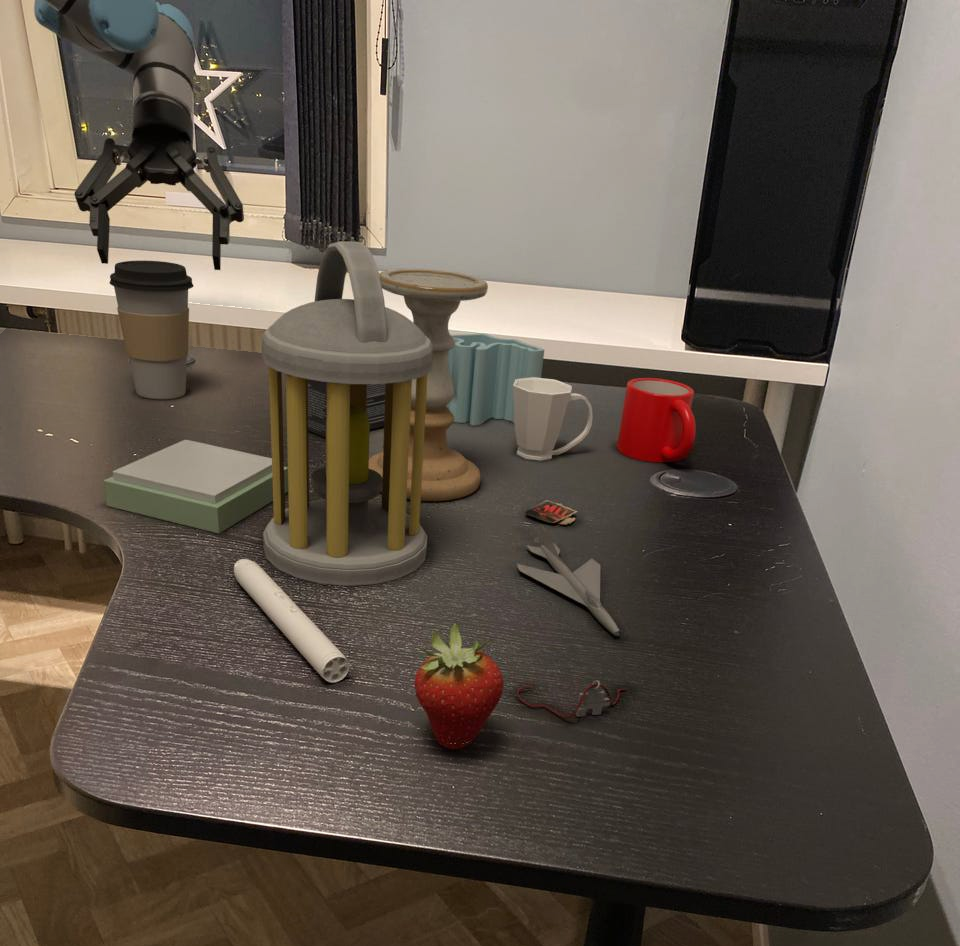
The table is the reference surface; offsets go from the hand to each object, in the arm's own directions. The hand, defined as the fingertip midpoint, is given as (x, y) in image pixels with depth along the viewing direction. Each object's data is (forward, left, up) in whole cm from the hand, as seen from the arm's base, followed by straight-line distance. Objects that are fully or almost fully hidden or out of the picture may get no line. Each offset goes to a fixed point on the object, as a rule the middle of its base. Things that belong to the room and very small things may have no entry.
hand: (160, 260), depth 114 cm
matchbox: (+59, -19, -15) cm, 63 cm away
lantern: (+45, -36, -15) cm, 59 cm away
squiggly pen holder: (+39, +6, -15) cm, 42 cm away
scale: (+28, -33, -14) cm, 45 cm away
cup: (+53, -1, -15) cm, 55 cm away
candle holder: (+44, -17, -15) cm, 49 cm away
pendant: (+70, -50, -15) cm, 87 cm away
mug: (+65, +6, -15) cm, 67 cm away
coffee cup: (+4, -7, -15) cm, 17 cm away
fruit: (+64, -58, -15) cm, 87 cm away
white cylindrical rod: (+47, -50, -15) cm, 70 cm away
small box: (+29, -5, -15) cm, 33 cm away
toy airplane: (+64, -32, -15) cm, 73 cm away
